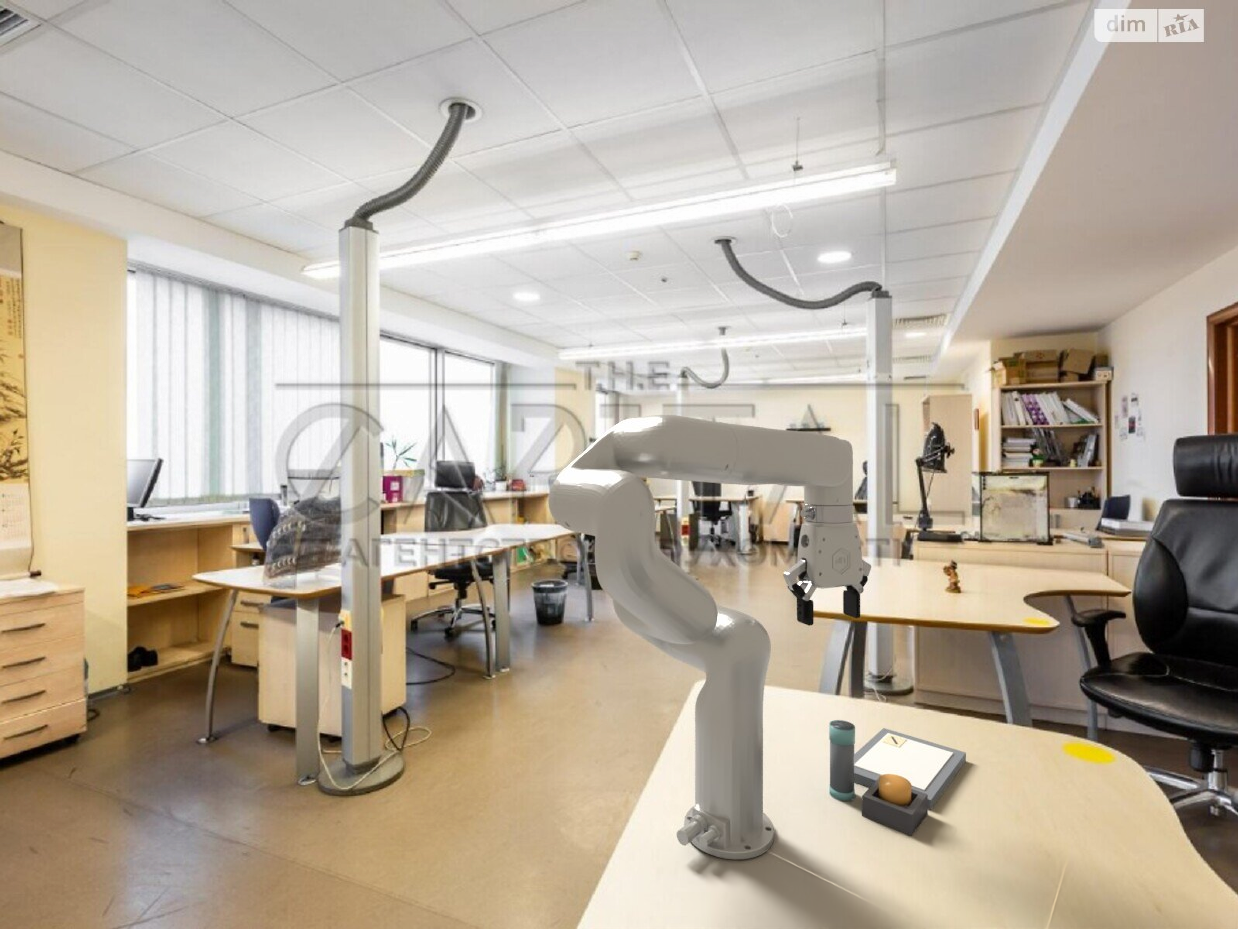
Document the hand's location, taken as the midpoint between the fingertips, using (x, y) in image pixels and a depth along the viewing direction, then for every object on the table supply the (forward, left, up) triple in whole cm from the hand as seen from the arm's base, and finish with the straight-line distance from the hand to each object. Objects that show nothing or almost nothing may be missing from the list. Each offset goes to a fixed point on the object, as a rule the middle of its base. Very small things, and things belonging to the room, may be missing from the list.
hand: (828, 619), depth 98 cm
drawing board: (+13, -8, -27) cm, 31 cm away
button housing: (-2, -11, -27) cm, 29 cm away
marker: (-2, -3, -27) cm, 27 cm away
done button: (-2, -11, -24) cm, 27 cm away
